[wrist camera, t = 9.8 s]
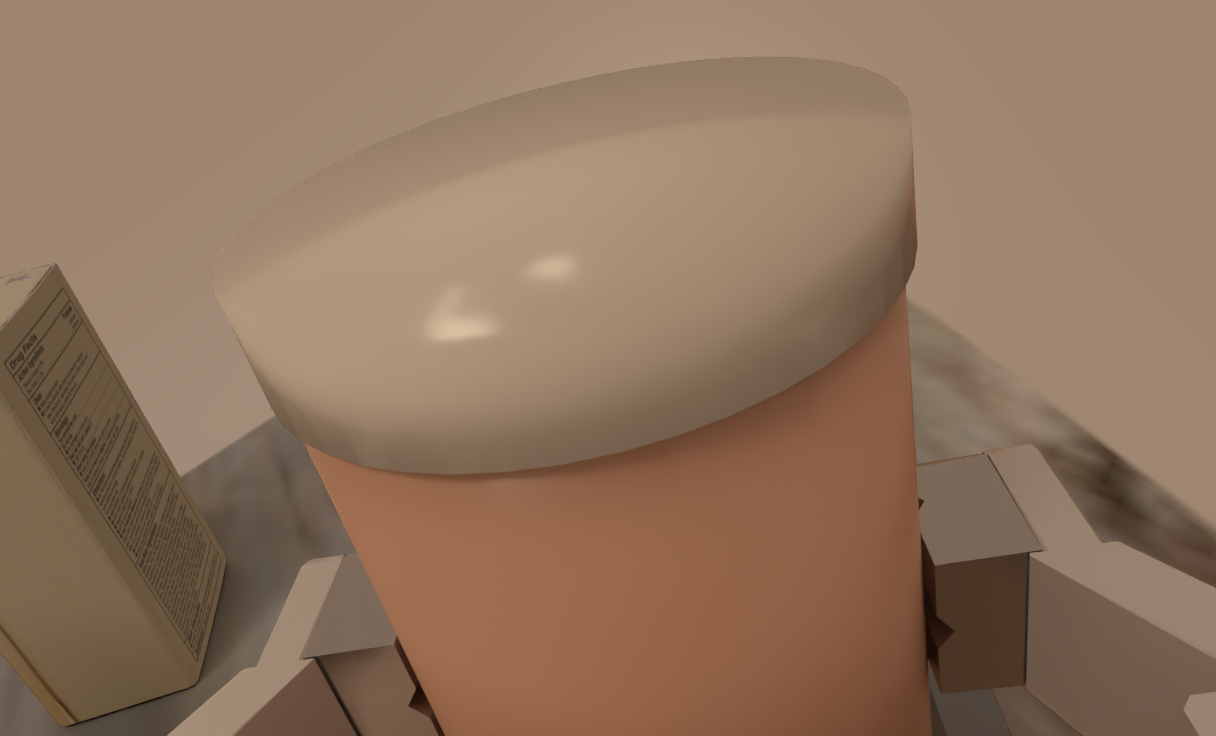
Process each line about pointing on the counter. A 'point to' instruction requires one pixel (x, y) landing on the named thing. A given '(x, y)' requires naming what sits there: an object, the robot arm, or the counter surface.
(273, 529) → the counter surface
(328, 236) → the terracotta jar
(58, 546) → the skincare box
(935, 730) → the pusher lane
